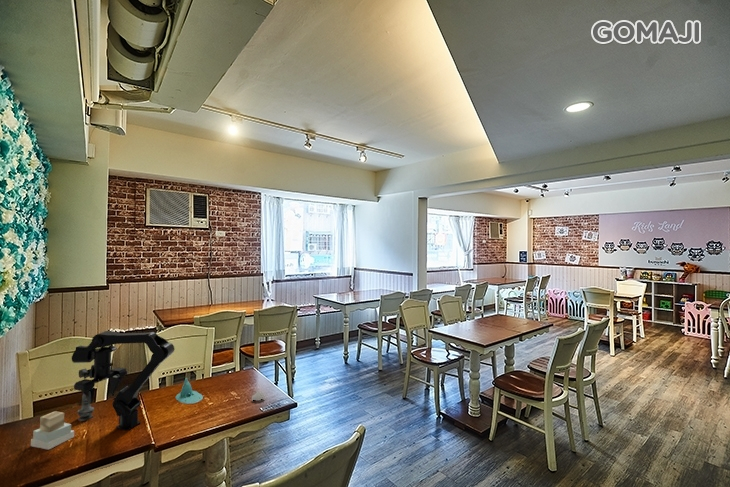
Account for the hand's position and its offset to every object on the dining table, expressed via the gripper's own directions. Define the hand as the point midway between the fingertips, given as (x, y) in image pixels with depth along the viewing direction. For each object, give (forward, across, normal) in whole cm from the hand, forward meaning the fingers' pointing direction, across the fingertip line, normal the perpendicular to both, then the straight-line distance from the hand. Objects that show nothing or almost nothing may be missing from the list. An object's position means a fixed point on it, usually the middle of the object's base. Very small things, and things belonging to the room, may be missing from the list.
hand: (101, 398), depth 144 cm
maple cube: (+7, +13, -7) cm, 17 cm away
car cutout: (+13, -39, +46) cm, 62 cm away
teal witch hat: (+13, -34, +14) cm, 39 cm away
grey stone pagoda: (+12, -4, -14) cm, 19 cm away
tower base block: (+13, +13, -8) cm, 20 cm away
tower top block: (+10, +13, -8) cm, 18 cm away
